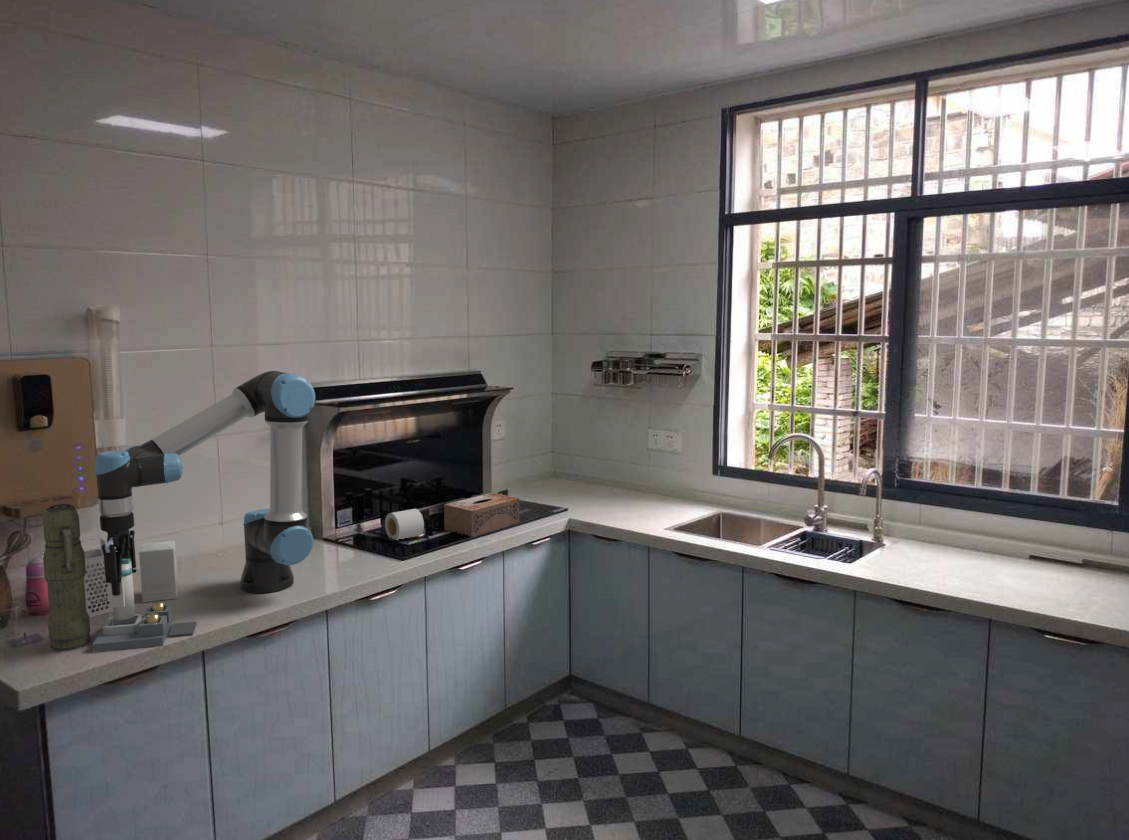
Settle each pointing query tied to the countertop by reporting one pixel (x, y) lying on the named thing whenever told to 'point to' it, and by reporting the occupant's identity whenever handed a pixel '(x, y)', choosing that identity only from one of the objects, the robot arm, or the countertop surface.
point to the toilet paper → (404, 524)
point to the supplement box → (158, 571)
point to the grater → (96, 580)
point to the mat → (182, 629)
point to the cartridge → (126, 593)
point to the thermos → (65, 579)
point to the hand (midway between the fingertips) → (123, 602)
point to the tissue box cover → (481, 514)
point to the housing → (134, 631)
